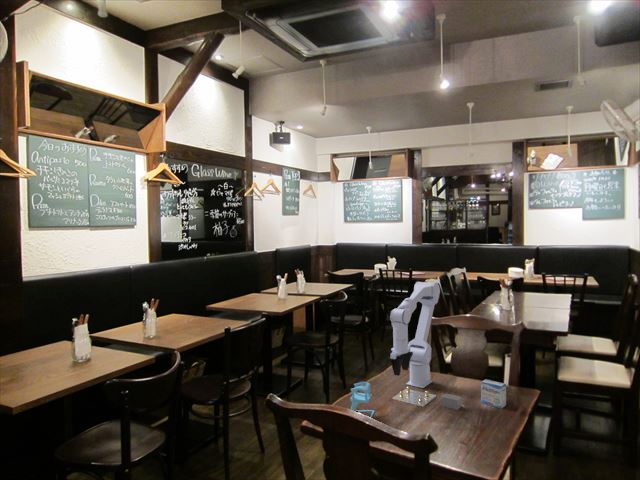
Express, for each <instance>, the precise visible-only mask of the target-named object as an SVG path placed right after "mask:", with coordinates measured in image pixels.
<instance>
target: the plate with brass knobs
mask: <svg viewBox="0 0 640 480" xmlns="http://www.w3.org/2000/svg"><path fill="white" fill-rule="evenodd" d="M410 388H411V387H410V386H406V388H405V389H403V390H400V391H399V393H397V394H396V395H395V396H393V397H392V400H395V401H400V402H404V403H406V404H407V403H408V404H411V405H415V406H419V407H420V406H421V407H425V406H427V405H428V403H430V402H432V401H433V400H434V399H435V398H436V397H437V395H436V394H432V393H429V390H425V391H424V392H423V391H419V390H413V389H410Z"/></svg>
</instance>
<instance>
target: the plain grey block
mask: <svg viewBox="0 0 640 480" xmlns="http://www.w3.org/2000/svg"><path fill="white" fill-rule="evenodd" d="M462 401H463V400H462V396H458V395H455V394H451V393H450V394H449V393H445V394H444V395H442V396H441V407H442V408H447V409H451V410H455V411H459V410H460V409H461V408H462V405H463V404H462Z"/></svg>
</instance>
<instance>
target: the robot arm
mask: <svg viewBox="0 0 640 480" xmlns="http://www.w3.org/2000/svg"><path fill="white" fill-rule="evenodd" d="M440 294H441V289H440V285H439V283H438V282H424V281H416V282H415V284H414V287H413V291H412V293H411V294H410V297H407V298H404V300H402V302H401V303H400V304H399V305H398V307H397V308H396V307H395V308H394V309H392V310H391V311H390V314H389V315H390V316H389V320H390V321H391V327H392V330H393V331H392V338H393V347H392V348H391V349H390V350H391V353H390V356H388V358H387V359H388V361H389V363H390V365H391V368H392V371H393V375H394V376H400V375H401V368H402V370H403V371H408V370H409V380H408V382H406V383H405V385H407V386H412V387H416V388H422V389H423V388H425V387H428V385H430V384H431V383H432V382H433V380H432V379H431V367H430V364H429V363H430V362H431V360H432V346H431V345H430V344H429V343H428V337H429V332H430V327H431V323H432V320H433V319H432V318H433V315H434V314H433V313H434V309H435V305H437V304H438V302H439V299H440ZM418 302H419V303H421V305H422V306H421V311H420V314H419V318H418V324H417V329H416V332H415V337H414V338H413V339H412V340H410V341H409V333H408V332H409V331H408V327H409V323H410V321H411V317H412V314H413V313H414V311H415V310H416V309H417V303H418Z"/></svg>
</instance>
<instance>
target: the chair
mask: <svg viewBox="0 0 640 480" xmlns="http://www.w3.org/2000/svg"><path fill="white" fill-rule="evenodd" d="M371 385H372V384H371V383H370V382H367V381H359V382H357V383H353V386H354V387H353V388H350V391H351V397H350V399H349V401H350V402H351V407H350V410H354V411H358V412H357V413H371V414H370V416H369V417H373V416H374V413H375V410H374V409H373V410H372V409H368V410H367V409H364V410H362V409H361V410H359V409H358V410H356V409H357V407H358V404H362V403H364V404H369V402H370V400H371V398H372V395H373V394H372V393H371V392H370V391H371ZM358 391H361V392H358ZM362 392H364V393H362Z"/></svg>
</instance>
